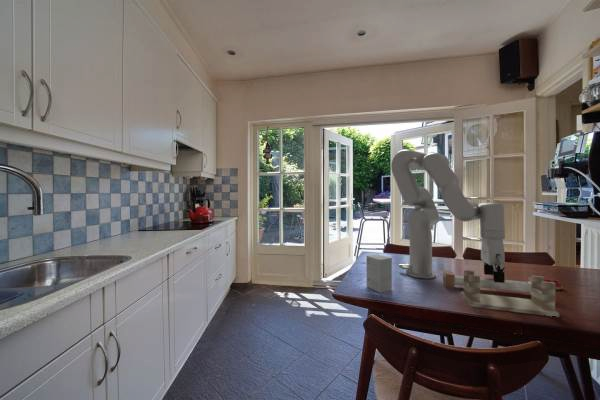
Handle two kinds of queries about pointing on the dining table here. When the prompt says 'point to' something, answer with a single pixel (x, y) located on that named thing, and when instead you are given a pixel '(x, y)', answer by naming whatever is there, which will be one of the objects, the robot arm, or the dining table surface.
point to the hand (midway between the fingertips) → (493, 278)
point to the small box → (379, 273)
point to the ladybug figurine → (558, 285)
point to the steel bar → (486, 283)
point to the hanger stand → (538, 304)
